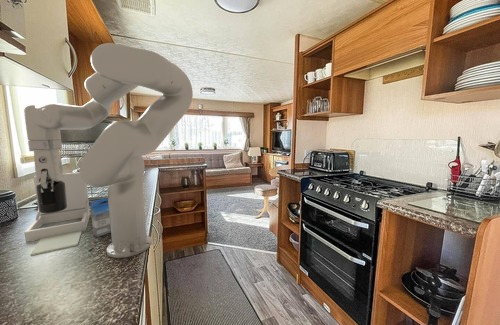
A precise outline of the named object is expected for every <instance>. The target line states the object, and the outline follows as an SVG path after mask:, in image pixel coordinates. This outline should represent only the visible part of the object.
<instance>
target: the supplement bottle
mask: <svg viewBox="0 0 500 325" xmlns="http://www.w3.org/2000/svg"><path fill="white" fill-rule="evenodd" d="M40 179H41V178H40ZM47 181H51V180H47ZM50 187H51V184H50ZM36 190H37V197H36V200H37V199H38V204H37V209H38V208H39V212H41V213H53V212H58V211H62V210H64V209H66V208H67V199H66V188H65V183H64V182H63V181H61V180H60V181H59V182H56V181H54V191H56V198H57V203H56V204H49V205H43V203H42V196H41V184H40V183H39V184H38V185H37V186H36ZM36 190H35V191H36Z"/></svg>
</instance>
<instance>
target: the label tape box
mask: <svg viewBox="0 0 500 325" xmlns="http://www.w3.org/2000/svg"><path fill="white" fill-rule="evenodd" d="M104 202H105V203H104ZM89 205H90V215H91V222H92V230H93V235H94V236H96V237H97V238H99V237H102V236H104V235H107V234H111V227H110V216H109V206H108V197H106V198H101V199H98V200H97V199H96V200H93V201H89Z"/></svg>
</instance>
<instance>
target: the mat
mask: <svg viewBox="0 0 500 325" xmlns="http://www.w3.org/2000/svg"><path fill="white" fill-rule="evenodd" d="M82 233H83V231H79V232H74V233H68V234H63V235H58V236H53V237H48V238H43V239H39V240H38V243H37V244H36V245H35V247H34V249H33V250H32V251H31V252H30V256H31V257H32V256H35V255H41V254H45V253H46V254H47V253H49V252H54V251H58V250H64V249H68V248H73V247H77V246H78V245H79V242H80V239H81V235H82Z"/></svg>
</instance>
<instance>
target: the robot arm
mask: <svg viewBox="0 0 500 325" xmlns="http://www.w3.org/2000/svg"><path fill="white" fill-rule="evenodd" d="M90 63H91V67H92V69H93V70H94V71H95V72H94V73H93V74H92V75H90V76H88V77H87V78H86V79H85V81H84V88H85V90H86V92H87V94H88V95H89V96H90V97H91V98H92V99H90V100H89V101H88V102H87V103H85V104H84V105H82V106H79V105H71V104H64V103H56V102H55V103H54V102H50V103H45V104H27V105H25V106H24V107H23V114H24V116H23V117H24V122H25V123H24V124H25V128H26V129H25V130H26V136H27V137H26V138H27V144H28V151H29V152H33V159H34V170H35V176H36V178H37V182H38V183H40V184H41V196H42V203H43V205H49V204H56V203H57V198H56V191H54V181H56V182H59V181H60V180H61V179H62V178H63V177H64V174H65V173H64V168H63V167H64V166H63V163H62V162H63V161H62V156H61V152H60V151H62V150H63V143H62V134H61V130H65V131H66V130H67V131H68V130H77V131H78V130H79V131H85V130H89V129H91V128H93V127H95V126H97V125H99V124H100V123H101V122H103V121H104V120H106V119H107V118H108V117H109V115H110V113H111V110H112V107H113V105H114V103H116V102H117V101H119V100H120V99H121V98H124V96H126V95H127V94H130V92H132V91H133V90H134V89H136V88H137V87H142V88H146V89H150V90H152V91H155V92H158V93H160V94H161V96H160V97H159V98H157V99H156V100H154V102H152V103H150V104H149V106H148V107H147V108H146V110H145V111H144V112H143V114H141V116H140V117H139V118H138V119H136V120H135V119H134V120H128V119H127V120H126V119H125V120H118V121H114V122H112V123H111V124H108V126H106V127H105V128H104V129H103V130H102V132H101V133H100V134H99V135H98V137H97V139H95V141H94V143H92V145H91V146H90V148H89V149H88V150H87V151H86V153H85V155H84V156H83V157H82V159H81V161H80V163H79V164H80V166H79V172H80V175H81V177H82V179H83V180H84V182H85V183H87V186H88V185H89V186H90V187H91V186H92V187H94V188H95V187H96V188H104V187H108V191H107V198H108V201H107V203H108V206H109V216H110V227H111V233H110V234H111V243H110V244H108V246H107V248H106V254H107V256H108V257H109V258H110V257H111V258H115V259H123V258H129V257H134V256H136V255H139V254H140V253H143V252H145V251H147V250H148V249H149V248H150V247H151V246H152V244H153V239H152V237H151V236H149V235H147V228H146V226H147V225H146V214H145V212H146V211H145V202H144V200H145V198H144V195H145V194H144V176H145V160H144V158H143V156H144V155H149V154H151V153H153V152H155V151H156V150H157V149H158V147H160V145H161V143H162V142H163V141H164V140H165V139H166V138H167V136H168V135H169V134H170V133H171V131H172V130H173V129H174V128H175V126H176V125H177V124H178V122H179V121H180V120H181V119H182V118H183V117H184V116H185V114H186V113H187V111H189V109H190V107H191V104H192V101H193V95H194V94H193V92H194V91H193V85H192V83H191V80H190V78H189V76H188V75H187V74H186V72H185V71H183V69H181V68H180V67H179V66H178V65H176V64H174V63H173V62H171V60H169V59H167V58H166V57H165V56H163V55H161V54H159V53H157V52H155V51H152V50H147V49H144V48H143V49H142V48H139V47H138V48H137V47H133V46H129V45H123V44H118V43H114V42H106V43H102V44H100V45H97V46H96V47H95V48H94V49H93V50H92V53H91V54H90ZM40 178H41V179H40ZM47 180H51V181H47ZM50 184H51V187H50Z"/></svg>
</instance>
